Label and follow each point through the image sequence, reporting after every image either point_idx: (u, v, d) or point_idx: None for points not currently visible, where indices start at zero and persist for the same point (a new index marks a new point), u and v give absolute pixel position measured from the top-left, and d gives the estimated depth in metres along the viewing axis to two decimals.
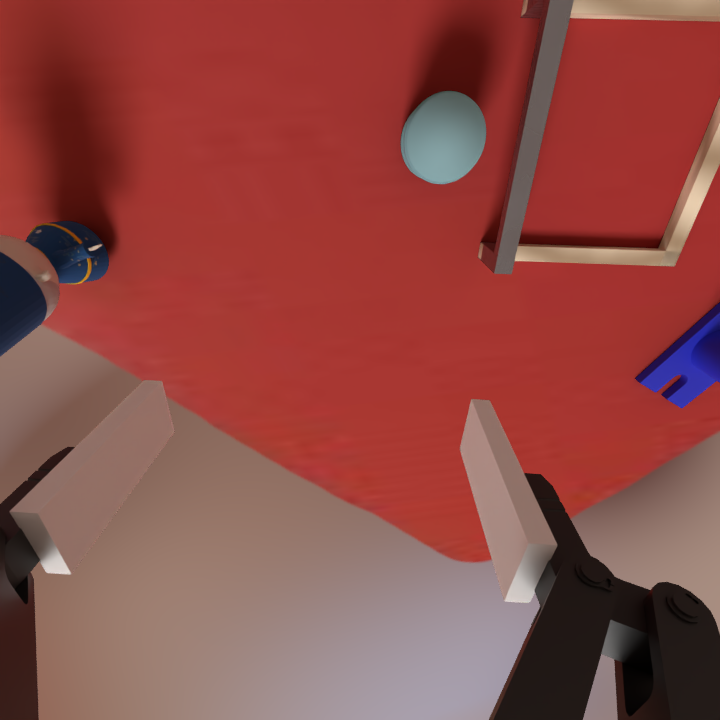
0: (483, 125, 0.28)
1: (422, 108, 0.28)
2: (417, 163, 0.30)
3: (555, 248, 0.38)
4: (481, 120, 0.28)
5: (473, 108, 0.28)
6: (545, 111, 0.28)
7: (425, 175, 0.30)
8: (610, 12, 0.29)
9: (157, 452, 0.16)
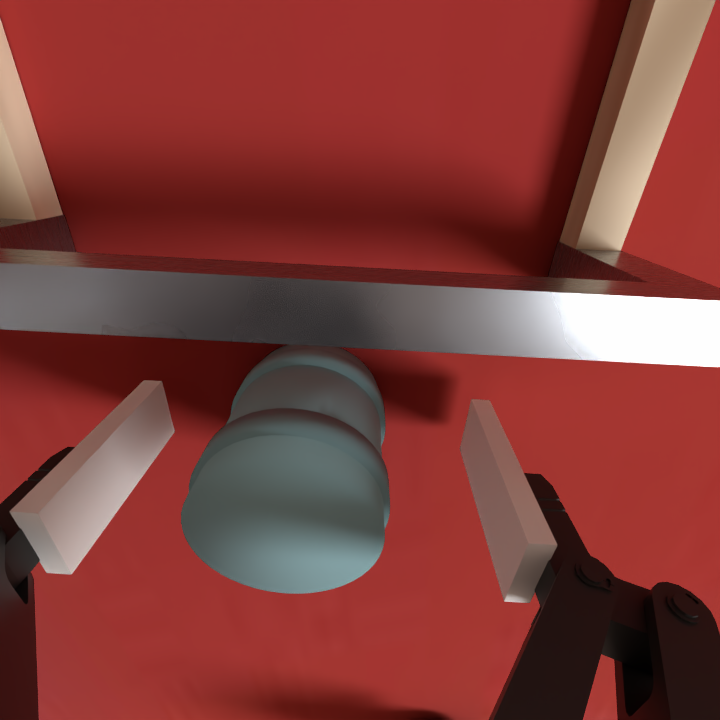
0: (240, 468, 0.10)
1: (226, 573, 0.12)
2: (339, 579, 0.12)
3: (652, 21, 0.10)
4: (229, 472, 0.10)
5: (206, 491, 0.10)
6: (179, 281, 0.08)
7: (366, 567, 0.12)
8: None
9: (157, 452, 0.16)
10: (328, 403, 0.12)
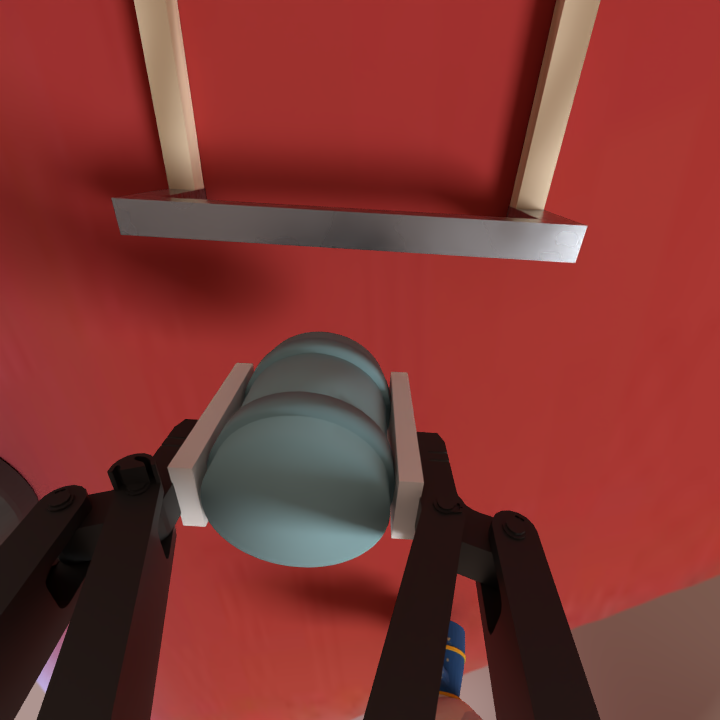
0: (256, 445, 0.10)
1: (242, 547, 0.13)
2: (347, 553, 0.13)
3: (549, 78, 0.18)
4: (246, 449, 0.11)
5: (223, 467, 0.11)
6: (298, 213, 0.17)
7: (373, 541, 0.12)
8: (176, 82, 0.19)
9: None
10: (337, 387, 0.13)
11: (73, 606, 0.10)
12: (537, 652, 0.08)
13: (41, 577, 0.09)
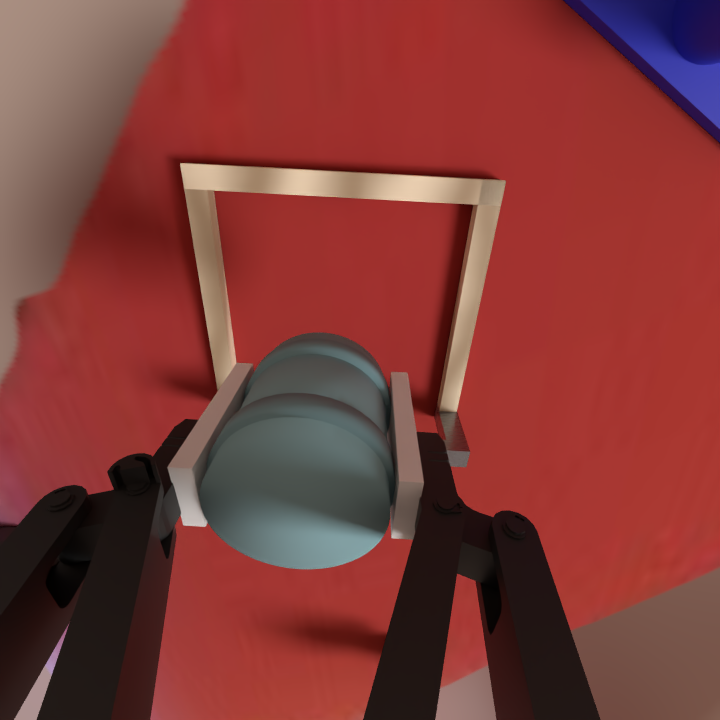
0: (255, 447, 0.10)
1: (241, 549, 0.13)
2: (347, 555, 0.13)
3: (451, 353, 0.30)
4: (245, 451, 0.11)
5: (223, 469, 0.11)
6: None
7: (373, 543, 0.12)
8: (227, 350, 0.30)
9: None
10: (336, 388, 0.13)
11: (73, 606, 0.10)
12: (537, 652, 0.08)
13: (41, 577, 0.09)
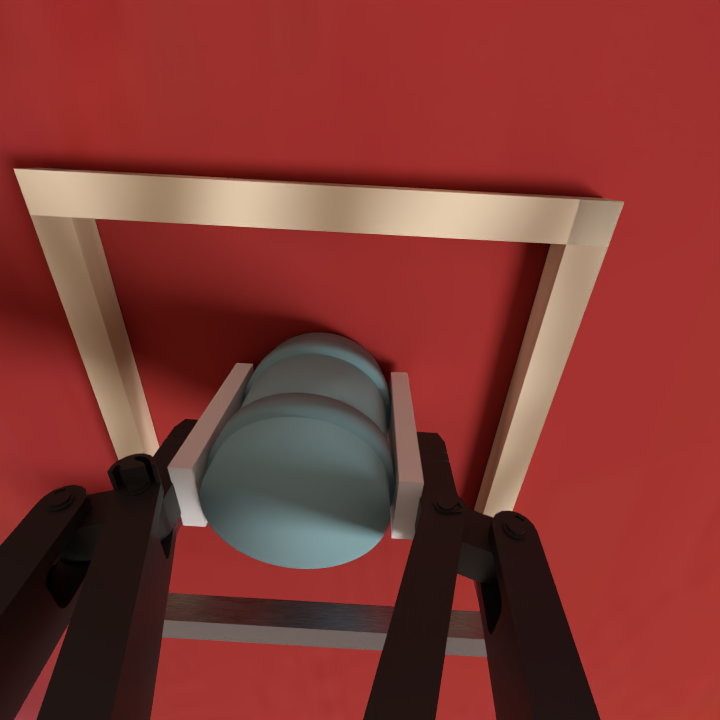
0: (255, 446, 0.10)
1: (241, 549, 0.13)
2: (347, 555, 0.13)
3: (499, 469, 0.19)
4: (245, 451, 0.11)
5: (223, 469, 0.11)
6: (263, 628, 0.17)
7: (373, 543, 0.12)
8: None
9: None
10: (336, 388, 0.13)
11: (73, 606, 0.10)
12: (537, 652, 0.08)
13: (41, 577, 0.09)
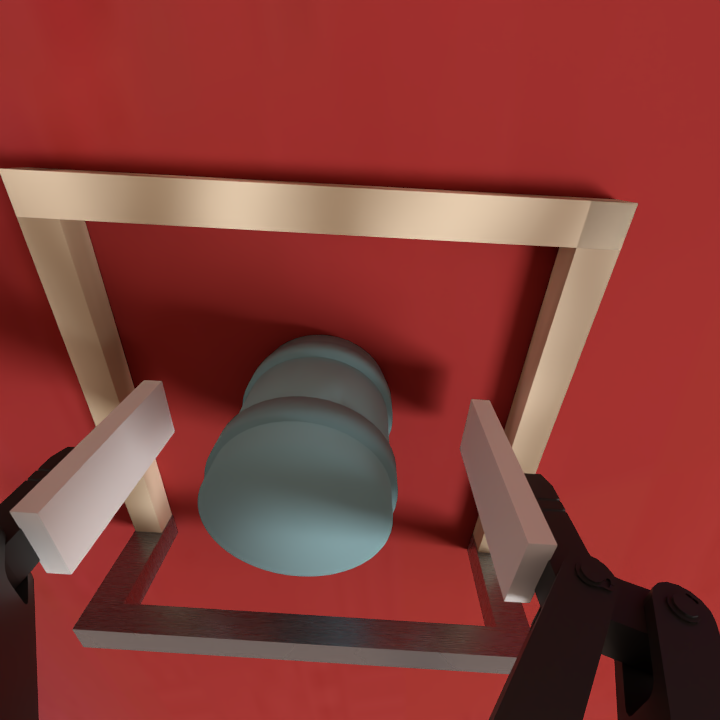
0: (255, 452, 0.10)
1: (240, 556, 0.12)
2: (348, 562, 0.12)
3: None
4: (245, 456, 0.10)
5: (222, 474, 0.11)
6: (260, 643, 0.17)
7: (375, 550, 0.12)
8: None
9: (157, 452, 0.16)
10: (338, 392, 0.13)
11: None
12: None
13: None
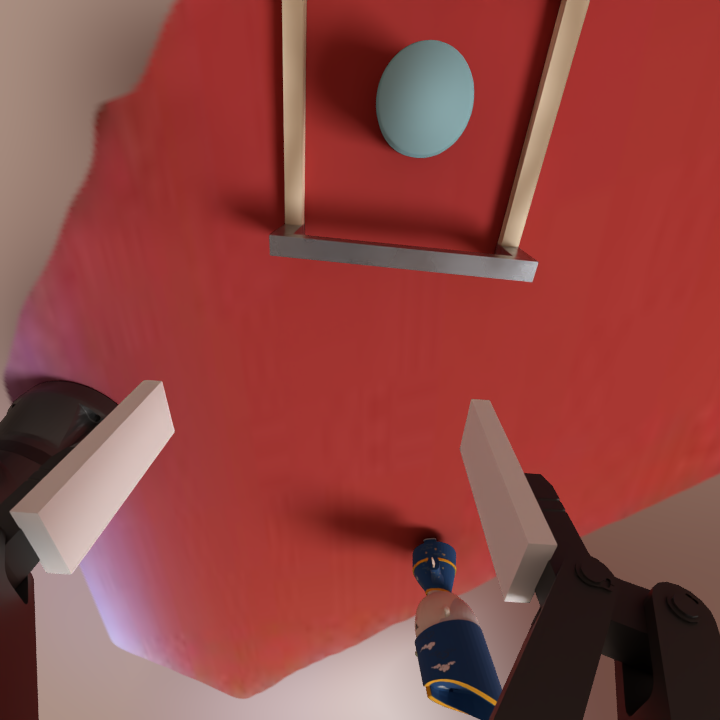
0: (416, 45, 0.22)
1: (391, 136, 0.25)
2: (446, 141, 0.25)
3: (521, 174, 0.30)
4: (411, 49, 0.22)
5: (397, 64, 0.23)
6: (377, 248, 0.29)
7: (461, 129, 0.24)
8: (300, 164, 0.31)
9: (157, 451, 0.16)
10: None
11: None
12: None
13: None
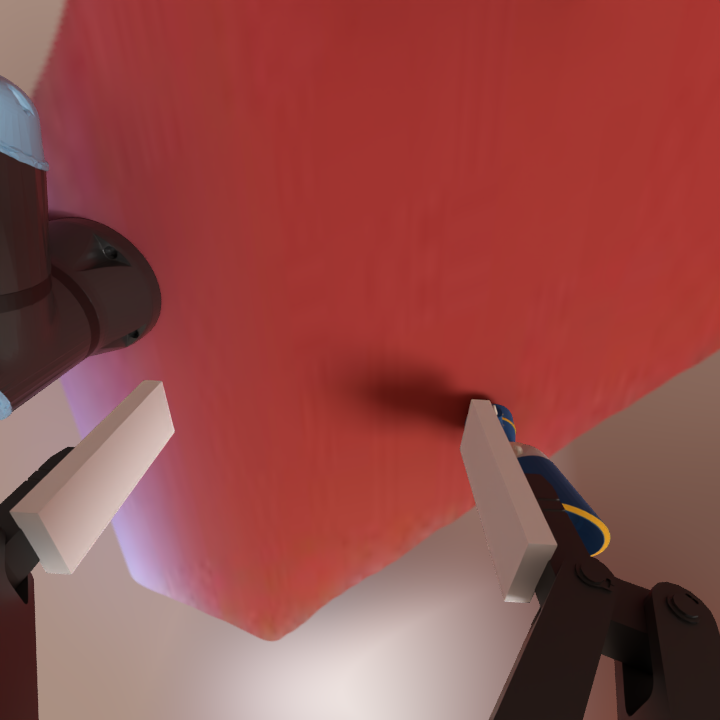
0: None
1: None
2: None
3: None
4: None
5: None
6: None
7: None
8: None
9: (157, 452, 0.16)
10: None
11: None
12: None
13: None
